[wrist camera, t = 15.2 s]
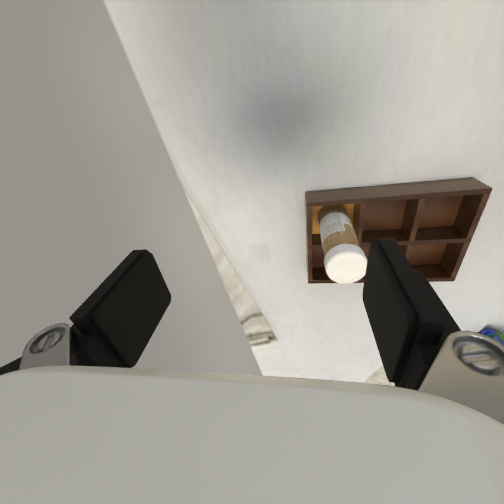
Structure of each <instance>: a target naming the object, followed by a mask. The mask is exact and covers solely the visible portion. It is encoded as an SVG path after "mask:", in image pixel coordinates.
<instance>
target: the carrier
mask: <svg viewBox="0 0 504 504" xmlns="http://www.w3.org/2000/svg"><path fill="white" fill-rule="evenodd" d="M491 191H492V188H491V187H489V186H487V185H486V184H484V183H482V182H480V181H478V180H476V179H474V178H461V179H449V180H437V181H426V182H414V183H403V184H391V185H380V186H368V187H356V188H345V189H333V190H322V191H310V192H305V199H306V240H307V273H308V283H337V282H335V281H333V280H331V279H330V278H329V277H328V275H327V273H326V270H325V265H324V257H325V256H324V251H323V248H322V242H321V236H320V229H319V223H318V220H317V215H318V212H319V211H320V209H321V208H322V207H324V206H330V205H342V206H343V207H344V208H345V209H346V210H347V213H348V218H349V219H350V221H351V224H352V226H353V229H354V231H355V234H356V237H357V240H358V243H359V246H360V248H361V249H362V250H363V252H364V253H365V256H366V258H367V260H368V253H369V247H370V243H372V242H375V240H376V239H378V238H394V239H395V241H396V242H397V244H398V245H399V247H400V249H401V250H402V252H403V253H404V255H405V256H406V258H407V260H408V261H409V263H410V264H411V266H412V267H413V269H414V271H419V272H421V273H422V274H423V275H424V276H425V277H426V279H427V280H428V282H433V281H454V280H455V277H456V275H457V273H458V270H459V268H460V266H461V263H462V261H463V258H464V256H465V253H466V251H467V249H468V246H469V244H470V242H471V239H472V237H473V234H474V232H475V229H476V227H477V225H478V222H479V220H480V217H481V215H482V213H483V210H484V208H485V205H486V203H487V200H488V198H489V196H490V193H491ZM364 281H365V276H364V277H363V278H361V279H360V280H358V281H356V282H353V283H364Z"/></svg>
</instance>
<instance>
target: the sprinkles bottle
mask: <svg viewBox="0 0 504 504" xmlns="http://www.w3.org/2000/svg"><path fill="white" fill-rule="evenodd" d="M317 220H318V223H319V229H320V236H321V242H322V248H323V251H324V256H325V257H324V265H325V270H326V273H327V275H328V277H329V278H330V279H331V280H333V281H335V282H337V283H342V284H348V283H353V282H356V281H358V280H360V279H361V278H363V277H364V276H365V274H366V267H367V258H366V256H365V253H364V252H363V250H362V249H361V248H360V246H359V243H358V240H357V237H356V234H355V231H354V229H353V226H352V224H351V221H350V219H349V218H348V213H347V210H346V209H345V208H344V207H343V206H342V205H330V206H324V207H322V208H321V209H320V211H319V212H318V215H317Z"/></svg>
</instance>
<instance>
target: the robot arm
mask: <svg viewBox="0 0 504 504" xmlns="http://www.w3.org/2000/svg"><path fill="white" fill-rule="evenodd" d="M170 301H171V294H170V292H169V290H168V288H167V285H166V283H165V281H164V279H163V277H162V274H161V272H160V270H159V268H158V265H157V263H156V261H155V259H154V257H153V255H152V253H150V252H149V251H147V250H133V251H132V252H131V253H130V254H129V255H128V256H127V257H126V258H125V259H124V260H123V261H122V263H120V265H119V266H118V267H117V268H116V269H115V270H114V271H113V272H112V273H111V274H110V275H109V276H108V277H107V278H106V279H105V280H104V281H103V283H102V284H101V285H100V286H99V287H98V288H97V289H96V290H95V291H94V292H93V293H92V294H91V295H90V296H89V297H88V298H87V300H86V301H85V302H84V303H83V304H82V305H81V306H80V307H79V308H78V309H77V310H76V311H75V312H74V313H73V314H72V315H71V316H70V320H71V321H72V322H73V323H74V324H73V325H72V327H70V326H69V325H67V324H65V323H59V324H55V325H52V326H50V327H47V328H46V329H44V330H42V331H40V332H39V333H38V334H36V335H35V336H34V337H33V338H32V339H31V340H30V341H29V342H28V343H27V344H26V346H25V348H24V351H23V355H22V357H21V358H18V359H16V360H15V361H13V362H11V363H9V364H7V365H5V366H3V367H1V368H0V504H504V345H502V344H501V343H500V342H498V341H496V340H494V339H492V338H490V337H488V336H486V335H483V334H480V333H477V332H471V331H461V330H460V328H459V327H458V325H457V324H456V322H455V321H454V319H453V318H452V316H451V315H450V313H449V312H448V310H447V309H446V307H445V306H444V304H443V303H442V301H441V300H440V298H439V297H438V295H437V294H436V292H435V291H434V289H433V288H432V286H431V285H430V283H429V282H428V280H427V279H426V277H425V276H424V275H423V274H422V273H421V272H419V271H414V269H413V267H412V266H411V264H410V263H409V261H408V260H407V258H406V256H405V255H404V253H403V252H402V250H401V249H400V247H399V245H398V244H397V242H396V241H395V239H394V238H378V239H376V240H375V242H372V243H370V247H369V253H368V260H367V267H366V274H365V281H364V288H363V302H364V305H365V309H366V312H367V315H368V318H369V321H370V324H371V328H372V331H373V334H374V337H375V340H376V344H377V347H378V350H379V353H380V356H381V359H382V363H383V366H384V369H385V372H386V375H387V378H388V380H389V382H394V383H395V386H396V387H394V386H386V385H378V384H370V383H358V382H345V381H333V380H320V379H305V378H290V377H274V376H258V375H243V374H226V373H208V372H192V371H175V370H156V369H137V368H132V367H133V366H135V365H136V363H137V361H138V360H139V358H140V356H141V354H142V352H143V351H144V349H145V347H146V345H147V343H148V342H149V340H150V338H151V336H152V334H153V333H154V331H155V329H156V327H157V325H158V324H159V322H160V320H161V318H162V316H163V314H164V313H165V311H166V309H167V307H168V306H169V304H170Z"/></svg>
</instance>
